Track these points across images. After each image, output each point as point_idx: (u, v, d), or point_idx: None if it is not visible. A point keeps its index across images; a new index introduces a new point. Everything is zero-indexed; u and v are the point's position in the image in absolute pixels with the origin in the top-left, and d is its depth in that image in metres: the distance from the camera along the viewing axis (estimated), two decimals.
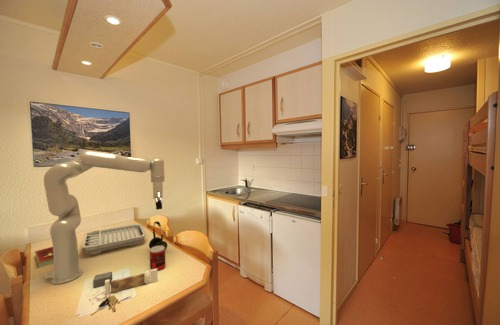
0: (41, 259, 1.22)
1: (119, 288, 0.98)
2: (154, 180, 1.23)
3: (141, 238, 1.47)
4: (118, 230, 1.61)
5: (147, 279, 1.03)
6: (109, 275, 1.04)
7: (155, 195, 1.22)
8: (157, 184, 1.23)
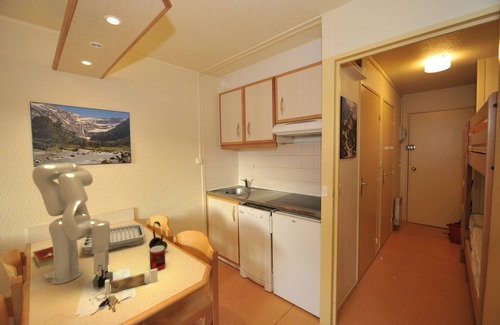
0: (41, 259, 1.22)
1: (119, 288, 0.98)
2: (95, 250, 1.00)
3: (140, 238, 1.47)
4: (119, 230, 1.61)
5: (147, 279, 1.03)
6: (109, 275, 1.04)
7: (95, 270, 0.98)
8: (98, 256, 0.99)
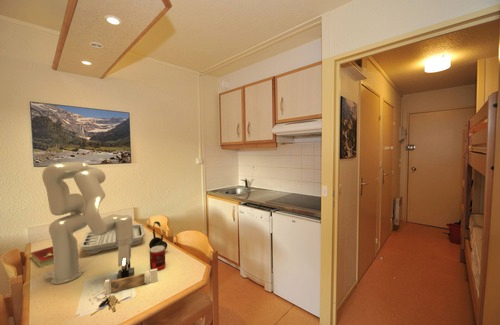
0: (42, 259, 1.22)
1: (119, 288, 0.98)
2: (119, 244, 1.03)
3: (139, 239, 1.46)
4: None
5: (147, 279, 1.03)
6: (132, 270, 1.08)
7: (120, 262, 1.02)
8: (122, 249, 1.03)
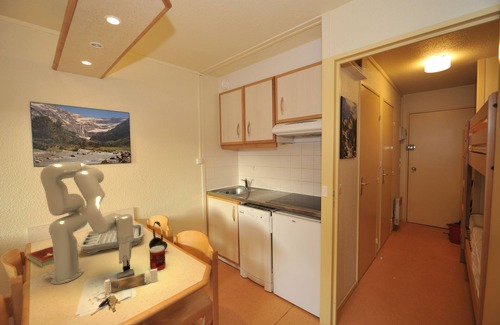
0: (43, 259, 1.22)
1: (119, 288, 0.98)
2: (120, 242, 1.06)
3: (138, 239, 1.46)
4: None
5: (147, 279, 1.03)
6: (132, 271, 1.07)
7: (121, 260, 1.05)
8: (123, 247, 1.05)
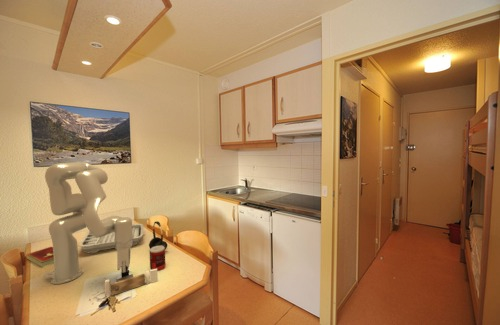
0: (43, 259, 1.22)
1: (119, 290, 0.96)
2: (118, 247, 1.00)
3: (138, 239, 1.46)
4: None
5: (147, 279, 1.03)
6: None
7: (119, 266, 0.99)
8: (122, 252, 1.00)
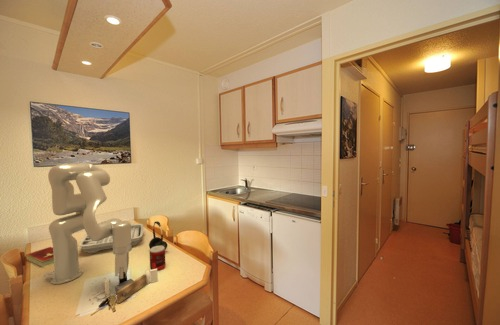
0: (43, 259, 1.22)
1: (126, 296, 0.93)
2: (116, 252, 0.96)
3: (137, 239, 1.45)
4: None
5: (147, 279, 1.03)
6: None
7: (117, 272, 0.95)
8: (120, 257, 0.95)
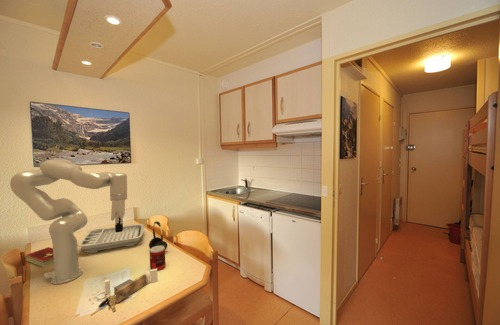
0: (44, 259, 1.22)
1: (125, 296, 0.93)
2: (113, 198, 1.06)
3: (137, 239, 1.45)
4: None
5: (147, 279, 1.03)
6: None
7: (113, 216, 1.04)
8: (116, 203, 1.05)
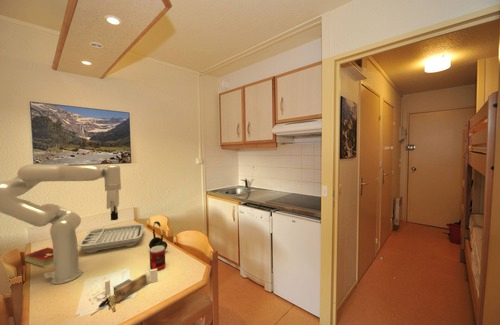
0: (44, 259, 1.22)
1: (124, 295, 0.93)
2: (107, 188, 1.13)
3: (136, 240, 1.45)
4: (121, 229, 1.63)
5: (147, 279, 1.03)
6: None
7: (108, 205, 1.12)
8: (111, 193, 1.13)
